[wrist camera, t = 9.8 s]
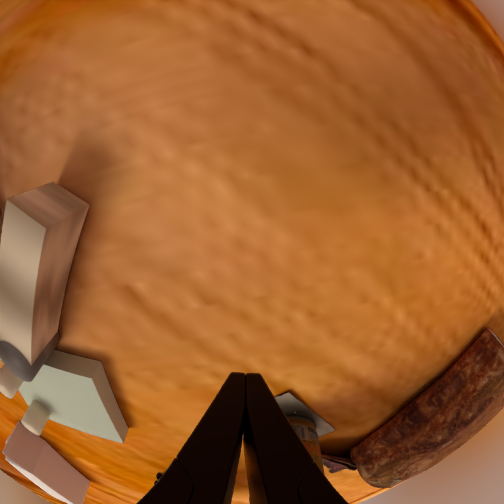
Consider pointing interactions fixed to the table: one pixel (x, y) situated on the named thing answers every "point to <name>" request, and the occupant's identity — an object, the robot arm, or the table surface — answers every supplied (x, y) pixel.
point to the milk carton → (44, 466)
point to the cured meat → (433, 419)
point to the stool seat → (68, 397)
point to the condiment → (305, 425)
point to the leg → (35, 273)
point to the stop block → (0, 226)
